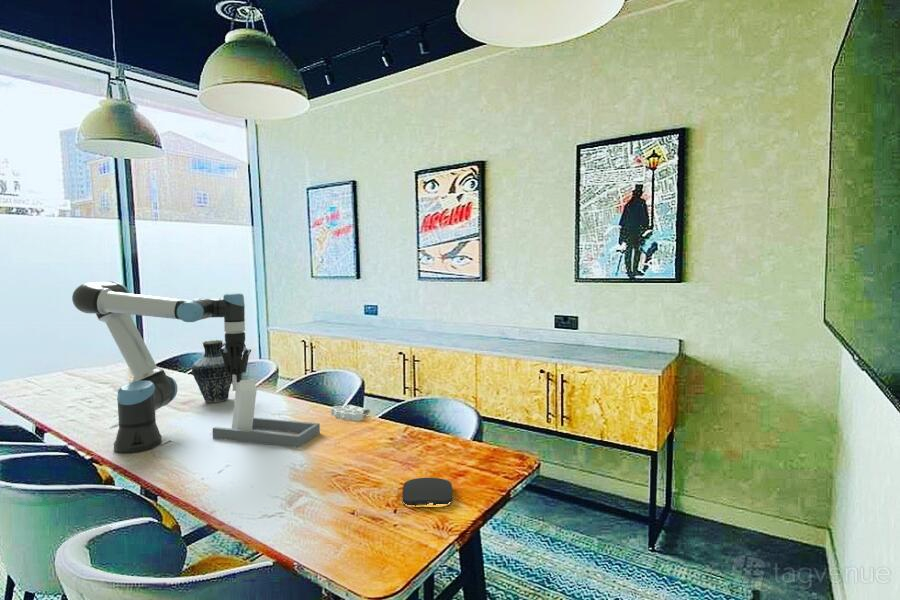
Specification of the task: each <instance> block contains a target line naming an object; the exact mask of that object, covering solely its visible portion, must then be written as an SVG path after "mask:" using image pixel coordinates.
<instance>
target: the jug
mask: <svg viewBox="0 0 900 600" xmlns="http://www.w3.org/2000/svg"><path fill="white" fill-rule="evenodd" d="M202 344H203V348H204V353H203V356H202V357H201V358H200V359H198V360H197V361H195V362H194V363H193V364H192V366H191V372H192V375H193V378H194V380H195V382H196V385H197V386H198V389H199V391H200V394H201V395H202V397H203V400H204V402H207V403H219V402H224V401H227V400H228V399H229V394H230V389H231V386H232V385H231V384H232V382H231V374H230V373H227V372H226V369H225V365H224V361H223V356H222V354H221V352H220V349H223V348H224V347H225V345H226V342H224V341H223V340H221V339H216V340H207V341H205V340H204V341H203V342H202Z"/></svg>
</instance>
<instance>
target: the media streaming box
mask: <svg viewBox="0 0 900 600" xmlns="http://www.w3.org/2000/svg"><path fill="white" fill-rule="evenodd" d="M451 501H452V502H453V485H452V482H451V481H449V480H447V479H445V478H444V479H443V478H439V477H417V478H412V479H409V480H407V481H405V482H403V486H402V503H403V502H404V503H405V504H407V505H415V506H416V505H427V504H429V503H433V505H436V504H448V503H449V502H451Z"/></svg>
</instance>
